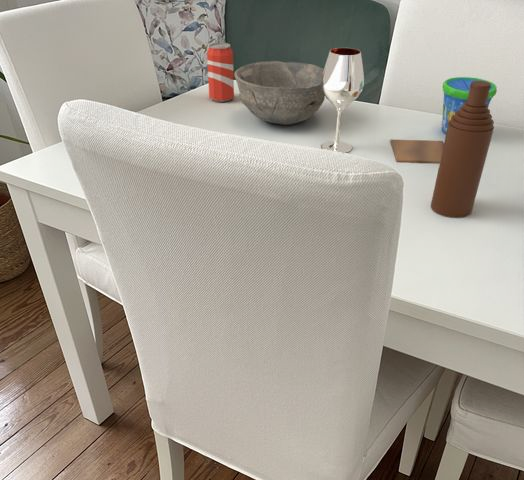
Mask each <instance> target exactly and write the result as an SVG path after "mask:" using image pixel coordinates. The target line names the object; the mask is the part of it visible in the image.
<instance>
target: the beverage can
mask: <svg viewBox="0 0 524 480" xmlns="http://www.w3.org/2000/svg"><path fill="white" fill-rule="evenodd" d="M206 60H207V80H208V81H207V82H208V97H209V99H211V100H212V101H214V102H218V103H225V102H229V101H231V100H232V99H234V98H235V84H234V83H235V80H234V79H235V76H234V52H233V50H232V48H231V44H230V43H228V42H213V43H209V44H208V49H207V50H206Z"/></svg>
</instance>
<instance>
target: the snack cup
mask: <svg viewBox="0 0 524 480" xmlns="http://www.w3.org/2000/svg"><path fill="white" fill-rule="evenodd" d="M473 81H486V82H489V83H490V84H491V88H490V91H489V94H488V98H487V102H486V104H487V105H488V107H489V105H490V103H491V101H492V99H493V97H494V96H496V95H497V92H498V90H497V85H496V84H495V83H494V82H491V81H489V80H487V79H484V78H478V77H472V76H471V77H470V76H456V77H450V78H447V79H446V80H444V82H443V83H442V92H443V98H442V99H443V100H442V115H441V116H442V118H441V132H442V133H443V134H446V132H447V127H448V123H449V121H450V120H451V117H452V116H453V115H455V113H456V111H458V110H459V109H460V107H461V106H463V105H464V103H465V102H467V99H468V95H469V90H470V83H471V82H473Z"/></svg>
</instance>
